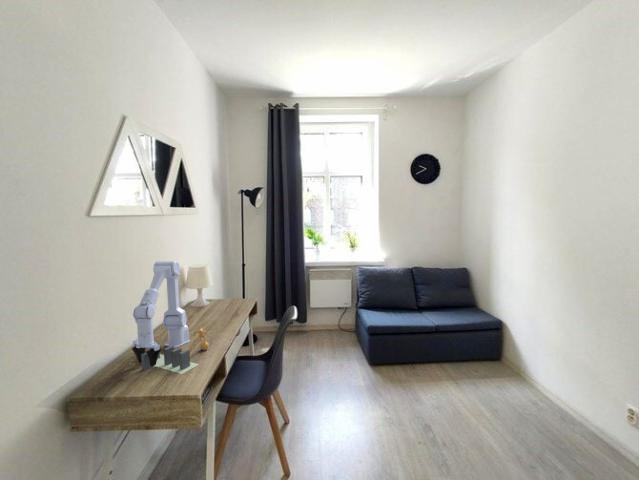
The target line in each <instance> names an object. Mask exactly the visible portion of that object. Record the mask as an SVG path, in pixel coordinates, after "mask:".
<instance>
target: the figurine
mask: <svg viewBox="0 0 639 480" xmlns="http://www.w3.org/2000/svg"><path fill="white" fill-rule="evenodd" d="M196 333H198V338H200V342H201V343H200V345H199V348H200V350H202V351H206V350H208V349H209V346H210V345H209V342H207V341H206V339H207V337H206V336H205V334H207V336H209V337H210V338H211V335H210V334H209V333H208V332H207V331H205V330H203V327H200V328H199V329H198V330H196V331H194V335H193V337H196Z"/></svg>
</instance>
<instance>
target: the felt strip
mask: <svg viewBox="0 0 639 480" xmlns="http://www.w3.org/2000/svg"><path fill="white" fill-rule="evenodd" d="M197 366H199V364H198V363H196V362H191V361H190V366H189V367H187V368H185V369H184V370H182V369H180V365H179V366H177V367H175V368H174V367H172V363H171V364H169V365H164V354H161V353H160V358H159V359H157V362H156V365H154V366H153V367H157V368H160V369H163V370H167V371H169V372H170V371H171V372H173V373H177V374H180V375H183V374H184V373H186V372H188V371H190V370H191V369H193V368H195V367H197Z"/></svg>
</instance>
